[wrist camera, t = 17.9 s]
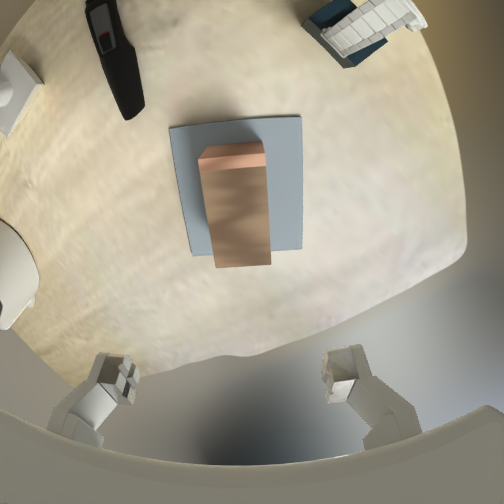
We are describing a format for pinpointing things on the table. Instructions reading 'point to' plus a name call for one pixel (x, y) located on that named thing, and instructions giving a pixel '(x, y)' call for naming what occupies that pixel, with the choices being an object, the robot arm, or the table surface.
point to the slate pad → (277, 169)
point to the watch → (360, 27)
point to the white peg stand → (16, 91)
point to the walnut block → (236, 203)
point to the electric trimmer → (116, 56)
